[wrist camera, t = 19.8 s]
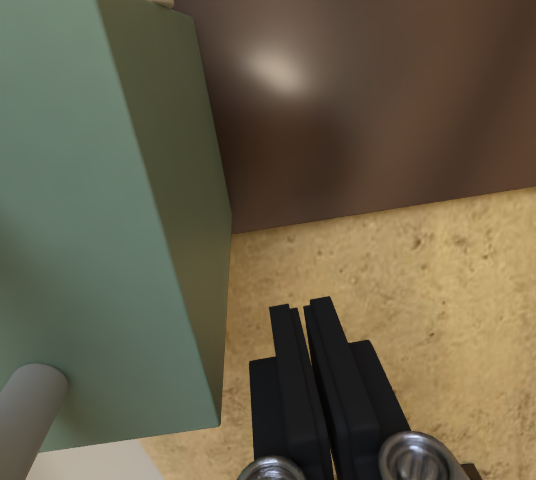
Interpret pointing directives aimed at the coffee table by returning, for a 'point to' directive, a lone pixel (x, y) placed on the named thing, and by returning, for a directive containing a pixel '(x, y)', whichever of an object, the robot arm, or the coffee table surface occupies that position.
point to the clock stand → (366, 102)
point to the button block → (471, 471)
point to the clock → (107, 228)
